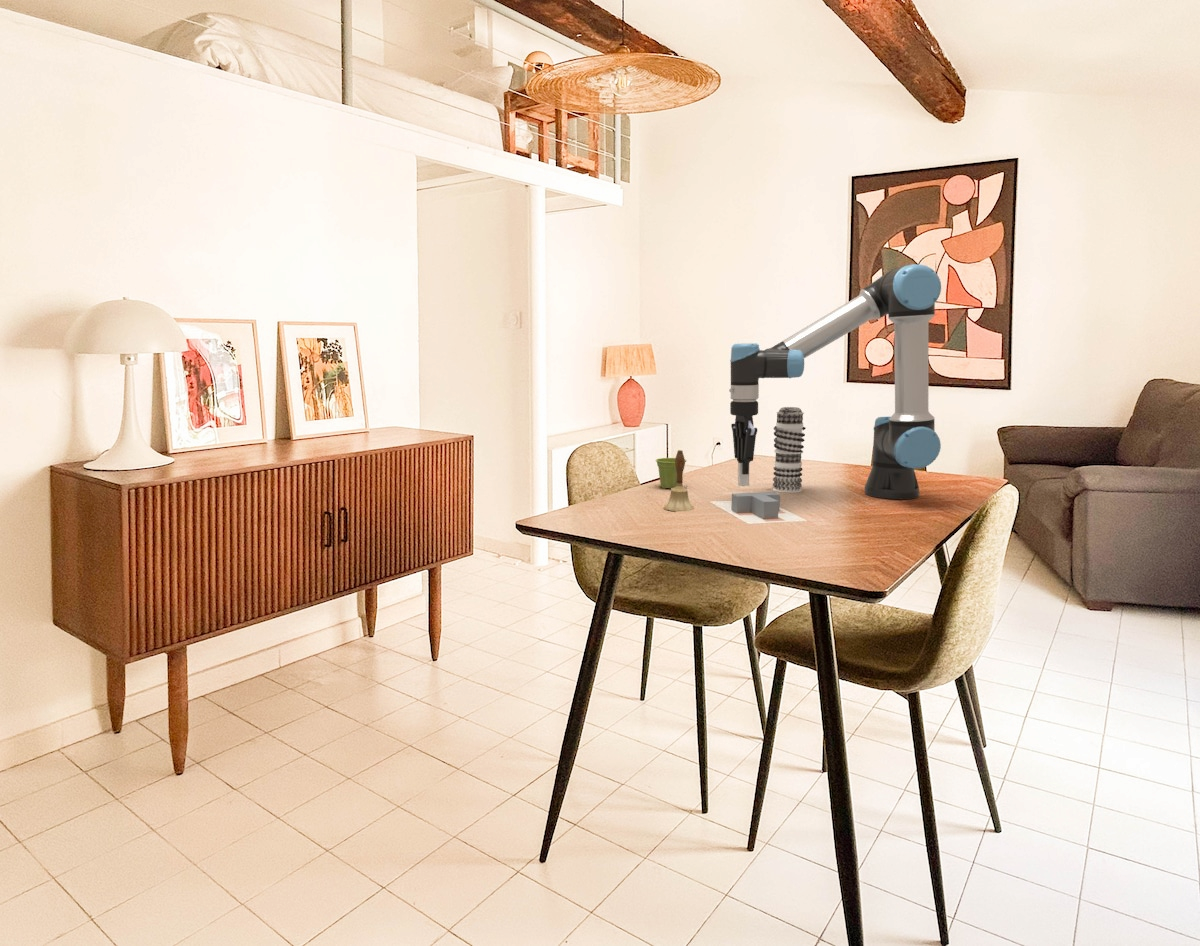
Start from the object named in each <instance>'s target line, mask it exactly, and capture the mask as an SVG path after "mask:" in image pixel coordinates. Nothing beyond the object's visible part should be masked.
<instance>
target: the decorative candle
mask: <svg viewBox="0 0 1200 946" xmlns="http://www.w3.org/2000/svg"><path fill="white" fill-rule="evenodd" d="M804 414H805V412H803V411H802V409H801V408H800V407H795V406H794V407H793V406H783V407H781V408H779V410H778V411H776V423H775V426H774V427H773V430H774V432H773V435H774V436H775V437H774V439H773V442H774V443H773V447H774V448H775V449H774V450H773V451H774V453H775V461H774V466H773V470H774V472H773V475H774V477H773V478H772V481H773V483H772V486H773V488H772V490H773V491H774V492H780V493H795V494H796V493H801V492H802V487H803V486H802V482H803V479H802V478H801V477H802V476H803V473H802V471H803V467H802V464H803V463H802V454H803V453H804V451H803V450H802V449H804V448H805V447H804V445H803V444H802V443H803V442H805V439H804V438H803V437H805V435H806V434H805V433H804V432H803V431H804V430H806V428H807V427H805V426H804V422H803V420H804Z"/></svg>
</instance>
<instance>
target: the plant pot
mask: <svg viewBox="0 0 1200 946" xmlns="http://www.w3.org/2000/svg"><path fill="white" fill-rule="evenodd" d="M675 458H676V457H660V458H656V459H655V462H656V463H657V467H658V474H659V475H658V476H659V482H660V488H661V487H662V489H664V488H666V489H670V488H674V487H676V481H677V472H676V468H675ZM684 459H685V463H686V462H687V459H686V458H684Z"/></svg>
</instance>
